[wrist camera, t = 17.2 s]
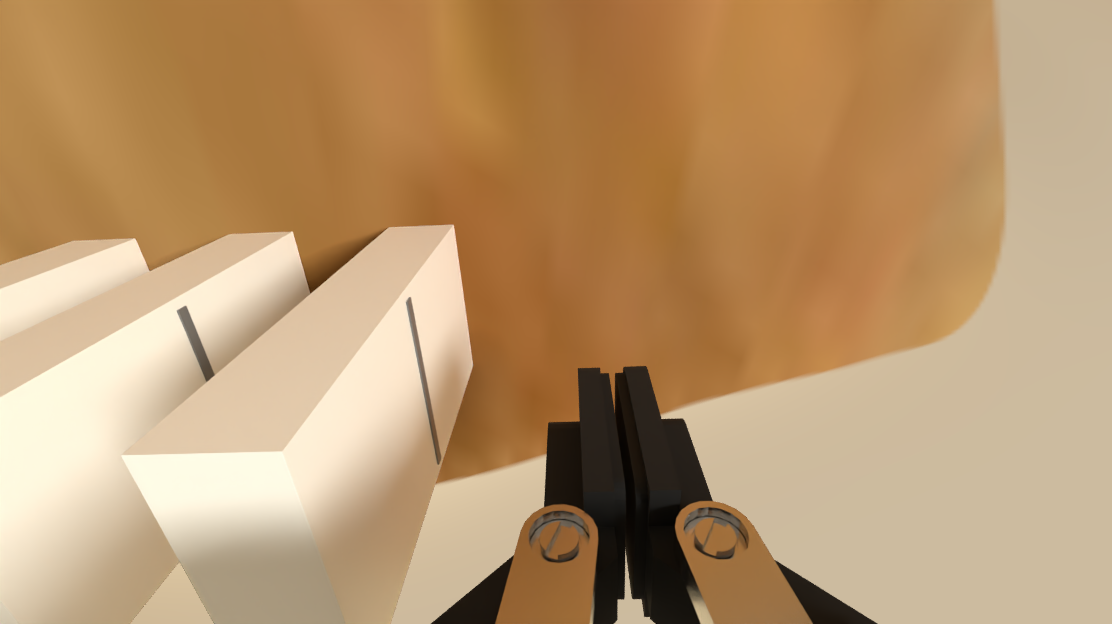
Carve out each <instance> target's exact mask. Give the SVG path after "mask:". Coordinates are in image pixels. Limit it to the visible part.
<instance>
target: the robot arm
mask: <svg viewBox="0 0 1112 624" xmlns="http://www.w3.org/2000/svg"><path fill="white" fill-rule="evenodd" d="M578 386H579V414H580V422H549V423H548V438H547V460H546V480H545V501H544V508H541V509H540V510H538V511H536V512H535V513H533V514H532V515H531V516H530V517H529V518H528V519H527V520H526V521H525V523H524V525H523V527H522V530H521V532H520V536H519V539H518V543H517V546H516V550H515V554H514V555H513V556H512V557H511V558H510V559H509V560H507V561H506V562H505V563H504V564H503V565H501V566H500V567H499V568H498V569H497V570H495V571H494V572H493V573H492V574H490V575H489V576H488V577H487V578H486V579H484V580H483V581H482V582H481V583H480V584H479V585H477V586H476V587H475V588H474V589H472V590H471V591H470V592H469V593H467V594H466V595H465V596H464V597H463V598H461V599H460V600H459V601H458V602H457V603H455V604H454V605H453V606H452V607H451V608H449V609H448V610H447V611H446V612H445V613H443V614H442V615H441V616H440V617H438V618H437V619H436V620H435V621H434V622H432V623H431V624H614V623H615V622H616V621H617V599H624V595H625V594H624V593H625V592H624V591H625V548H626V555H627V563H628V571H629V579H630V587H631V594H632V599H642V604H643V611H644V617H650V619H651V620H652V621H653V622H654V623H656V624H877V623H875V622H874V621H872V620H871V619H869V618H867V617H866V616H864V615H863V614H861V613H859V612H858V611H856V610H855V609H853V608H851V607H850V606H848V605H846V604H845V603H843V602H842V601H840V600H838V599H837V598H835V597H833V596H832V595H830V594H829V593H827V592H825V591H824V590H822V589H820V588H819V587H817V586H816V585H814V584H813V583H811V582H809V581H808V580H806V579H805V578H802V577H801V576H800V575H798V574H797V573H795V572H793V571H792V570H790V569H788V568H787V567H785V566H783V565H782V564H780V563H779V562H777V561H775V560H774V559H773V557H772V555H771V554H770V552H769V551H768V549H767V547H766V546H765V544H764V542H763V541H762V539H761V537H760V536H759V534H758V532H757V531H756V529H755V527H754V526H753V525H752V524H751V522H750V521H749V520H748V519H747V517H746V516H744V515H743V514H742V513H740V512H739V511H738V510H736V509H735V508H732V507H730V506H728V505H726V504H723V503H719V502H714V501H713V500H712V498H711V495H710V492H709V489H708V486H707V483H706V480H705V477H704V475H703V472H702V469H701V466H700V463H699V460H698V457H697V455H696V452H695V449H694V446H693V443H692V440H691V437H690V434H689V432H688V429H687V426H686V423H685V421H684V420H683V419H661V416H660V412H659V409H658V405H657V402H656V398H655V394H654V391H653V387H652V384H651V380H650V377H649V373H648V370H647V367H646V366H636V367H624V368H623V373H615V412H614V405H613V399H612V392H611V385H610V378H609V373H601V374H600V368H578Z"/></svg>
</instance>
